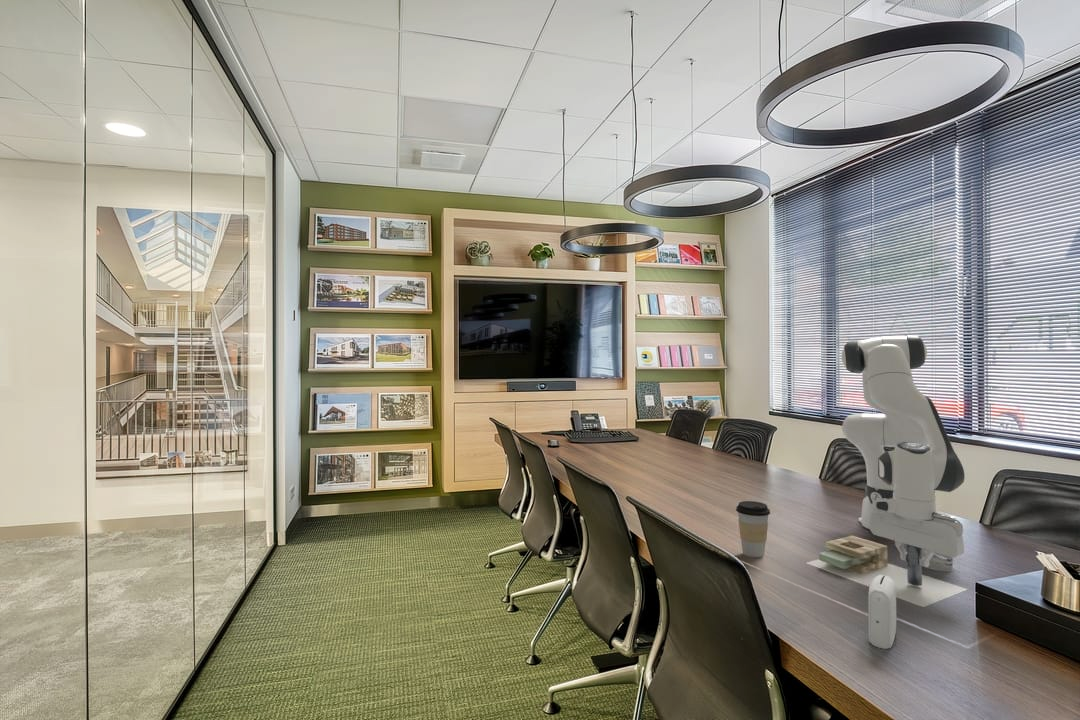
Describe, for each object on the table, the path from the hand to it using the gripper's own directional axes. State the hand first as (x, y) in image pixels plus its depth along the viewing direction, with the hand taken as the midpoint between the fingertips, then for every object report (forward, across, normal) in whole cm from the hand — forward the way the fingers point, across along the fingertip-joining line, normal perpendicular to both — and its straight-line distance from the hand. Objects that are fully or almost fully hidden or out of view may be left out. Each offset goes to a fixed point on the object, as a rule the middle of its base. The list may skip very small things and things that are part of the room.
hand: (914, 562), depth 131 cm
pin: (+5, 0, 0) cm, 5 cm away
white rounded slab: (+6, -10, +31) cm, 33 cm away
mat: (+6, +8, 0) cm, 10 cm away
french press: (+7, +6, -20) cm, 22 cm away
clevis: (+6, +16, 0) cm, 17 cm away
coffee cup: (+7, +35, +17) cm, 39 cm away
